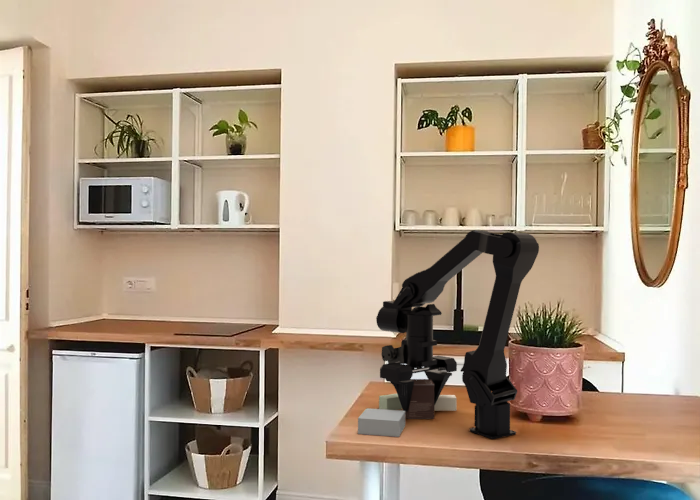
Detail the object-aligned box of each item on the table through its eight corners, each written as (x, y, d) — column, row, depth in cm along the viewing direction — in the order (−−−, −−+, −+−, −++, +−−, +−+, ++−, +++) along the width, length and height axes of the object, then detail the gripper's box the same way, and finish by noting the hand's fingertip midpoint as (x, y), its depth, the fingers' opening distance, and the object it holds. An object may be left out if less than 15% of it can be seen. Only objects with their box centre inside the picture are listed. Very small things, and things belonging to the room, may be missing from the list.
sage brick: (400, 406, 145) (400, 392, 145) (408, 408, 142) (408, 395, 142) (378, 409, 141) (379, 395, 141) (386, 412, 139) (387, 398, 139)
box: (434, 419, 132) (434, 384, 132) (405, 419, 132) (406, 384, 132) (431, 412, 138) (431, 378, 138) (404, 411, 138) (404, 378, 138)
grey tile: (405, 425, 127) (405, 410, 127) (398, 436, 119) (399, 421, 120) (366, 422, 129) (366, 408, 129) (357, 433, 121) (357, 418, 121)
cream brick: (454, 408, 143) (454, 394, 143) (456, 411, 140) (456, 398, 140) (427, 408, 143) (427, 394, 143) (429, 411, 140) (429, 397, 140)
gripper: (420, 328, 148) (420, 395, 148) (362, 335, 135) (361, 407, 135) (458, 333, 139) (458, 403, 139) (399, 340, 127) (399, 418, 127)
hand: (419, 408), depth 135 cm, fingers closed on box, 8 cm apart
